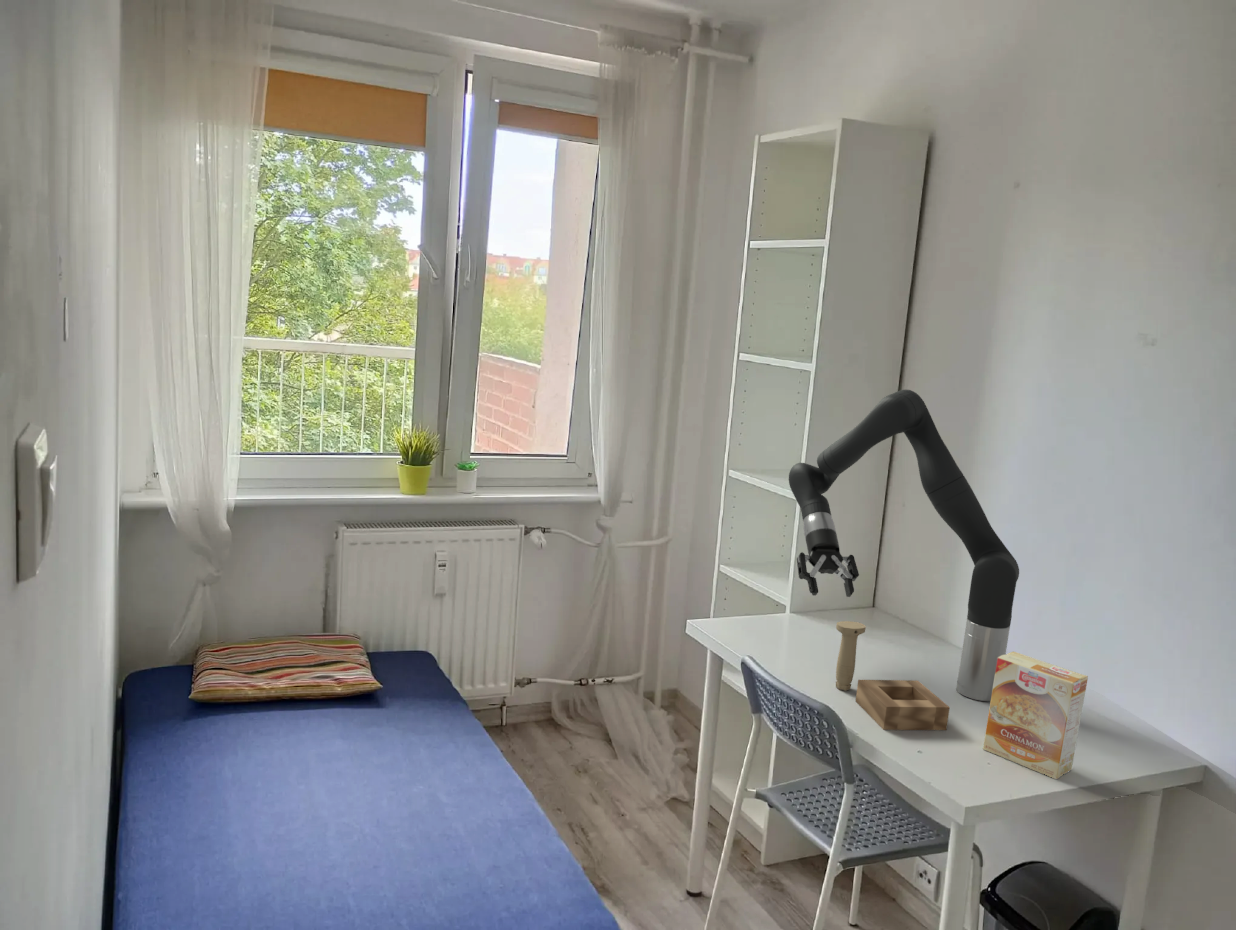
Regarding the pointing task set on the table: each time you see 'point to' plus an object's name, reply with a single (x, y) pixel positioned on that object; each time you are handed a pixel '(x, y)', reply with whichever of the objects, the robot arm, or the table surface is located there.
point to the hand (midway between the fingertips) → (832, 594)
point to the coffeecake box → (1035, 714)
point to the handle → (847, 652)
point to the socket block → (902, 705)
